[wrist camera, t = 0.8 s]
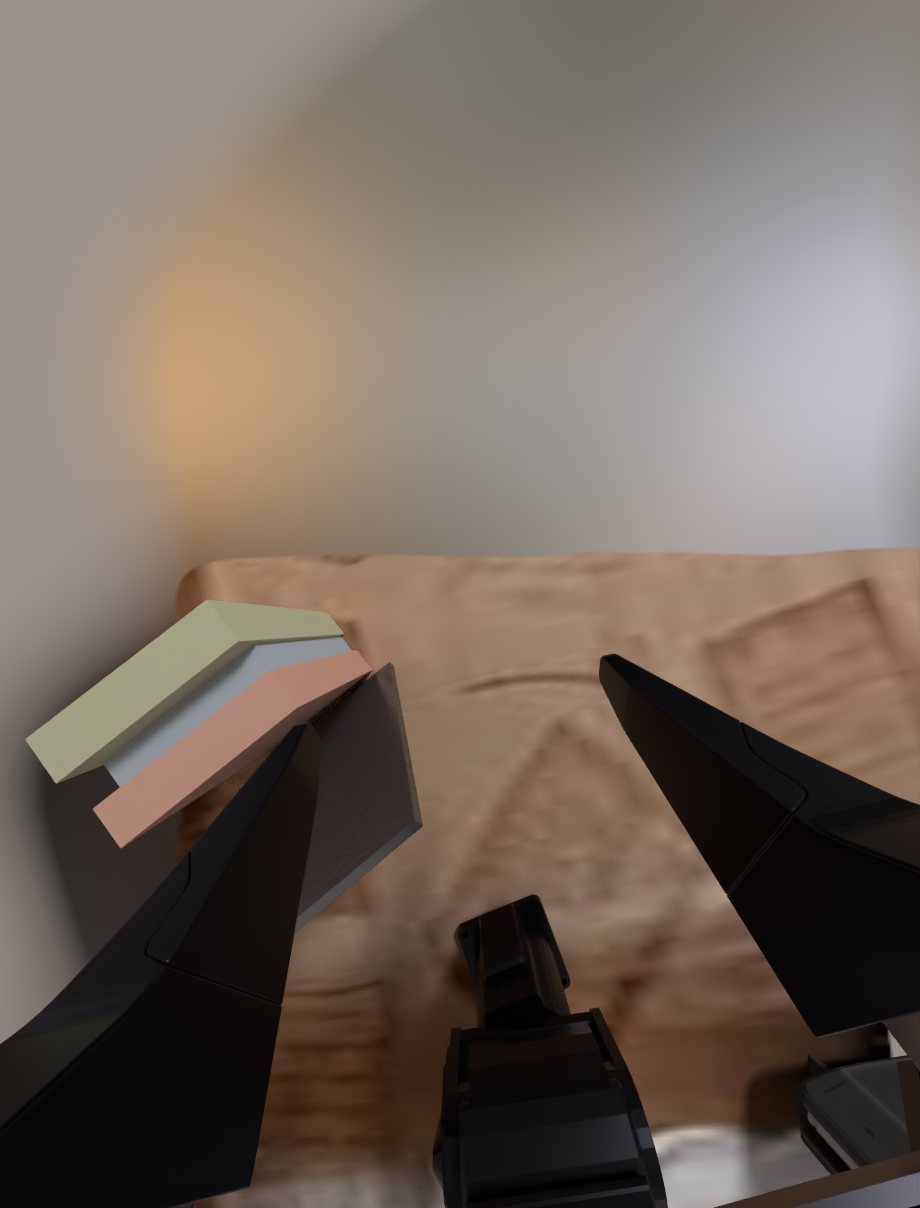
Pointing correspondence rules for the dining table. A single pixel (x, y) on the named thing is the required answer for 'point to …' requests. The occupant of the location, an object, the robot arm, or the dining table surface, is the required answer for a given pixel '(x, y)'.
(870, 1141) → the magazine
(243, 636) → the book row
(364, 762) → the bookend
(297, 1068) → the dining table surface
